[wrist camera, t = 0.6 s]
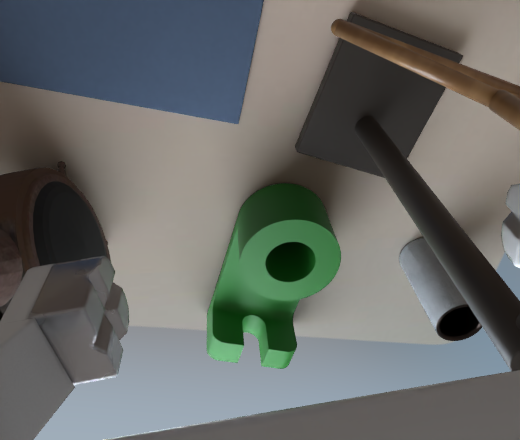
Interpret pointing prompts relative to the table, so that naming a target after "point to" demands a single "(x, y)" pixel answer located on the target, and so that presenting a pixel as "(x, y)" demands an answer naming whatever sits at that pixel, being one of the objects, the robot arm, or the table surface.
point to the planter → (437, 292)
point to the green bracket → (271, 273)
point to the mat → (134, 51)
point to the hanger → (438, 70)
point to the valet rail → (404, 164)
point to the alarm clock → (43, 225)
